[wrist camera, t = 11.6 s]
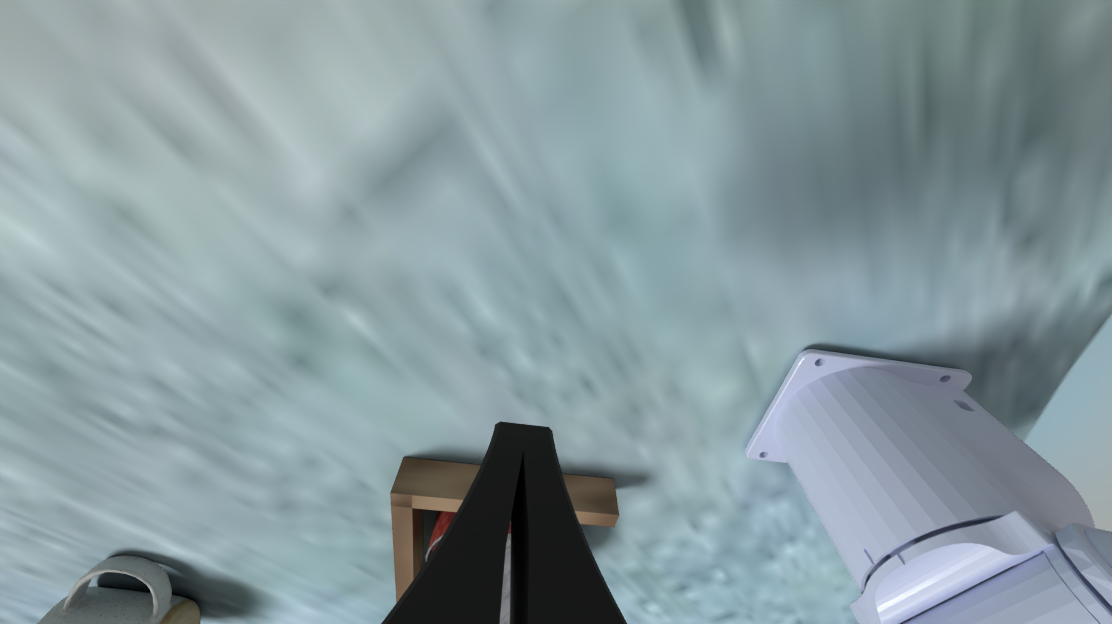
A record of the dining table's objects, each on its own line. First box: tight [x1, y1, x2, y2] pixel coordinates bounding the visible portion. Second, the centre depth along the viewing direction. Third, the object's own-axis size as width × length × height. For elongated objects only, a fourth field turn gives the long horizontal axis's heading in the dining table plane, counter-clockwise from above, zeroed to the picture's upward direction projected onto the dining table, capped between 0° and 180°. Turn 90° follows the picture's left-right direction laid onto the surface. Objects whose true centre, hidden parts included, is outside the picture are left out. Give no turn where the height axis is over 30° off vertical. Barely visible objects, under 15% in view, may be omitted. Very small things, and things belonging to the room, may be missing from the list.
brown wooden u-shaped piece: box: [390, 457, 619, 602], centre depth 30 cm, size 13×16×2 cm
